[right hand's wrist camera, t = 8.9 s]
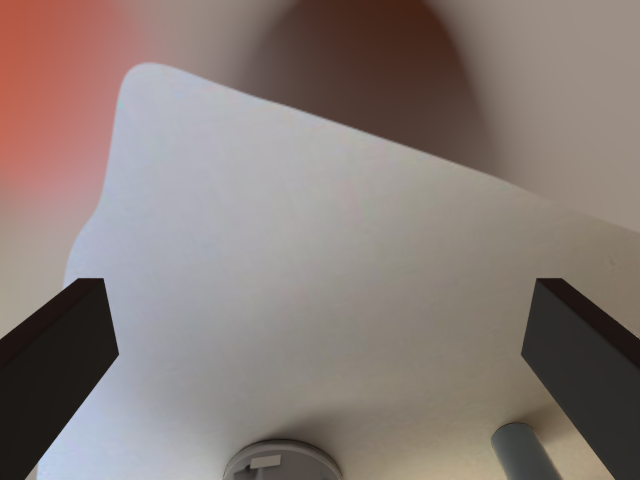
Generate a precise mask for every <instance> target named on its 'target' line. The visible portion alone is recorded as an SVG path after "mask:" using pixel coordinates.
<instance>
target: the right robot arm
mask: <svg viewBox="0 0 640 480" xmlns="http://www.w3.org/2000/svg"><path fill="white" fill-rule="evenodd" d="M118 355H119V352H118V347H117V342H116V337H115V332H114V327H113V322H112V317H111V312H110V308H109V303H108V298H107V293H106V288H105V283H104V278H78V279H77V280H75V281H74V282H73V283H72V284H70V285H69V286H68V287H66V288H65V289H64V290H63V291H61V292H60V293H59V294H58V295H56V296H55V297H54V298H52V299H51V300H50V301H49V302H47V303H46V304H45V305H44V306H42V307H41V308H40V309H38V310H37V311H36V312H35V313H33V314H32V315H31V316H30V317H28V318H27V319H26V320H25V321H23V322H22V323H21V324H19V325H18V326H17V327H16V328H14V329H13V330H12V331H11V332H9V333H8V334H7V335H5V336H4V337H3V338H2V339H0V480H25V479H26V477H27V476H28V475H29V473H30V472H31V471H32V469H33V468H34V467H35V465H36V464H37V463H38V461H39V460H40V459H41V457H42V456H43V455H44V453H45V452H46V451H47V449H48V448H49V447H50V446H51V444H52V443H53V442H54V440H55V439H56V438H57V436H58V435H59V434H60V432H61V431H62V430H63V428H64V427H65V426H66V424H67V423H68V422H69V420H70V419H71V418H72V416H73V415H74V414H75V412H76V411H77V410H78V408H79V407H80V406H81V404H82V403H83V402H84V400H85V399H86V398H87V397H88V395H89V394H90V393H91V391H92V390H93V389H94V387H95V386H96V385H97V383H98V382H99V381H100V379H101V378H102V377H103V375H104V374H105V373H106V371H107V370H108V369H109V367H110V366H111V365H112V363H113V362H114V361H115V359H116V358H117V357H118ZM521 355H522V357H523V358H524V359H525V361H526V362H527V363H528V365H529V366H530V367H531V369H532V370H533V371H534V373H535V374H536V375H537V377H538V378H539V379H540V381H541V382H542V383H543V385H544V386H545V387H546V389H547V390H548V391H549V393H550V394H551V395H552V397H553V398H554V399H555V400H556V402H557V403H558V404H559V406H560V407H561V408H562V410H563V411H564V412H565V414H566V415H567V416H568V418H569V419H570V420H571V422H572V423H573V424H574V426H575V427H576V428H577V430H578V431H579V432H580V434H581V435H582V436H583V438H584V439H585V440H586V442H587V443H588V444H589V446H590V447H591V448H592V449H593V451H594V452H595V453H596V455H597V456H598V457H599V459H600V460H601V461H602V463H603V464H604V465H605V467H606V468H607V469H608V471H609V472H610V473H611V475H612V476H613V477H614V479H615V480H640V339H638V338H637V337H636V336H635V335H633V334H632V333H631V332H630V331H628V330H627V329H626V328H624V327H623V326H622V325H621V324H619V323H618V322H617V321H616V320H614V319H613V318H612V317H610V316H609V315H608V314H607V313H605V312H604V311H603V310H602V309H600V308H599V307H598V306H596V305H595V304H594V303H593V302H591V301H590V300H589V299H588V298H586V297H585V296H584V295H582V294H581V293H580V292H579V291H577V290H576V289H575V288H574V287H572V286H571V285H570V284H568V283H567V282H566V281H565V280H563V279H562V278H536V283H535V288H534V293H533V298H532V303H531V308H530V312H529V317H528V322H527V327H526V332H525V337H524V342H523V347H522V352H521ZM223 480H342V477H341V473H340V471H339V469H338V467H337V465H336V464H335V463H334V461H333V460H332V459H331V458H330V457H329V456H328V455H326V454H325V453H324V452H322V451H321V450H319V449H317V448H315V447H313V446H311V445H308V444H305V443H302V442H297V441H292V440H269V441H263V442H259V443H256V444H253V445H251V446H249V447H247V448H245V449H243V450H241V451H240V452H239V453H237V454H236V455H235V456H234V457H233V458H232V459H231V461H230V462H229V464H228V465H227V467H226V470H225V473H224V477H223Z"/></svg>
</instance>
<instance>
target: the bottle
mask: <svg viewBox="0 0 640 480" xmlns="http://www.w3.org/2000/svg"><path fill="white" fill-rule="evenodd" d="M491 445H492V448H493V450H494V452H495V454H496V456H497V459H498V461H499V463H500V465H501V467H502V470H503V472H504V474H505V476H506V478H507V480H564V479H563V478H562V476H561V474H560V473H559V471H558V469H557V468H556V466H555V464H554V463H553V461H552V459H551V458H550V456H549V454H548V453H547V451H546V449H545V448H544V446H543V444H542V443H541V441H540V439H539V438H538V436H537V434H536V433H535V431H534V430H533V428H531V427H530V426H528V425H526V424H522V423H512V424H508V425H505V426H503V427H501V428H500V429H498V430H497V431H496V432H495V433H494V435H493V437H492V440H491Z"/></svg>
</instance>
